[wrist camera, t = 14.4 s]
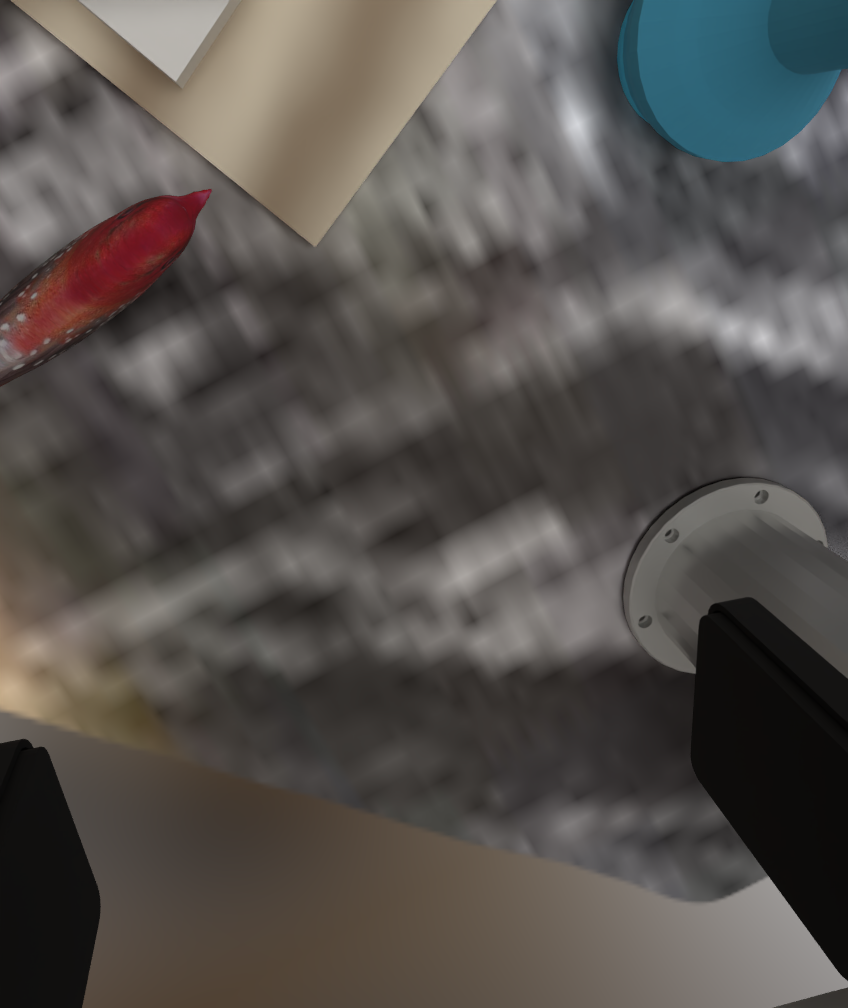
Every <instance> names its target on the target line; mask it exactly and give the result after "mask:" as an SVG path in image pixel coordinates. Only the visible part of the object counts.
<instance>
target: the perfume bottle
mask: <svg viewBox="0 0 848 1008" xmlns="http://www.w3.org/2000/svg"><path fill="white" fill-rule="evenodd" d="M617 64H618V72H619V78H620V81H621V85H622V88H623V92H624V93H625V95H626V97H627V99H628V101H629V103H630V105H631V106H632V107H633V109H634V110H635V111H636V112H637V114H638V115H639V116H640V117H642V118H643V119H644V120H645V121H647V122H648V123H649V124H650V125H651V126H652V127H653V128H654V130H655V131H656V132H657V133H658V134H660V135H661V136H662V137H663V138H664V139H666V140H667V141H668V142H670V143H671V144H672V145H673V146H675V147H676V148H677V149H679V150H682V151H684V152H686V153H688V154H690V155H693V156H695V157H700V158H705V159H710V160H716V161H721V162H733V161H745V160H749V159H752V158H756V157H759V156H763V155H765V154H767V153H769V152H771V151H773V150H775V149H777V148H779V147H780V146H782V145H784V144H785V143H786V142H788V141H789V140H790V139H791V138H793V137H794V136H795V135H797V134H798V133H799V132H800V131H801V130H802V129H803V128H804V127H805V126H806V125H807V124H808V123H809V122H810V121H811V119H812V118H813V117H814V116H815V115H816V114H817V113H818V111H819V110H820V108H821V107H822V105H823V104H824V102H825V101H826V99H827V98H828V96H829V95H830V93H831V91H832V89H833V87H834V85H835V83H836V80H837V78H838V76H839V74H840V72H841V70H842V69H847V68H848V0H633V2H632V3H631V5H630V7H629V9H628V10H627V13H626V16H625V18H624V21H623V23H622V26H621V31H620V36H619V40H618V52H617Z"/></svg>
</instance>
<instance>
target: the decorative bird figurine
mask: <svg viewBox="0 0 848 1008" xmlns="http://www.w3.org/2000/svg"><path fill="white" fill-rule="evenodd" d="M211 191H212V189H208V190H202V191H199V192H193V193H191V194H188V195H185V196H171V195H165V196H158V197H154V198H150V199H147V200H144V201H141V202H139V203H136V204H134V205H132V206H130V207H128V208H127V209H125V210H123V211H122V212H120V213H118V214H117V215H115V216H113V217H111V218H109V219H107V220H105V221H103V222H101V223H100V224H98V225H96V226H95V227H93V228H91V229H90V230H88V231H87V232H85V233H84V234H82V235H81V236H79V237H78V238H76V239H75V240H73V241H72V242H70V243H69V244H68V245H66V246H65V247H64V248H62V249H61V250H60V251H58V252H57V253H55V254H54V255H53V256H52V257H50V258H49V259H48V260H47V261H45V262H44V263H43V264H41V265H40V266H39V267H38V268H36V269H35V270H34V271H33V272H32V273H30V274H29V275H28V276H27V277H25V278H24V279H23V280H22V281H21V282H20V283H19V284H17V285H16V286H15V287H14V288H13V289H12V290H11V291H10V292H9V293H8V294H7V295H6V296H5V297H3V298H2V299H1V300H0V386H2V385H4V384H6V383H8V382H10V381H12V380H13V379H15V378H17V377H19V376H21V375H23V374H25V373H27V372H29V371H31V370H33V369H35V368H37V367H39V366H41V365H43V364H44V363H46V362H48V361H50V360H51V359H53V358H55V357H56V356H58V355H60V354H61V353H63V352H65V351H66V350H68V349H69V348H71V347H72V346H74V345H76V344H77V343H79V342H80V341H82V340H83V339H84V338H86V337H87V336H89V335H90V334H92V333H93V332H94V331H96V330H97V329H98V328H100V327H101V326H103V325H104V324H105V323H107V322H108V321H109V320H111V319H112V318H113V317H115V316H116V315H117V314H118V313H120V312H121V311H122V310H123V309H125V308H126V307H127V306H128V305H130V304H131V303H132V302H133V301H134V300H136V299H137V298H138V297H139V296H140V295H141V294H142V293H144V292H145V291H146V290H147V289H148V288H149V287H150V286H151V285H152V284H153V283H154V282H155V281H156V280H157V279H158V278H159V277H160V276H161V275H162V273H163V272H164V271H165V270H166V269H167V268H168V267H169V266H170V265H171V264H172V263H173V262H174V261H175V260H176V259H177V258H178V257H179V256H180V254H181V253H182V252H183V250H184V249H185V247H186V246H187V244H188V242H189V240H190V239H191V237H192V235H193V232H194V229H195V223H196V218H197V216H198V214H199V212H200V211H201V209H202V208H203V207H204V205H205V203H206V201H207V199H208V198H209V196H210V193H211Z"/></svg>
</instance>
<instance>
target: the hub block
mask: <svg viewBox="0 0 848 1008" xmlns="http://www.w3.org/2000/svg"><path fill="white" fill-rule="evenodd" d="M77 1H78V2H79V3H80V4H81V5H83V6H84V7H85V8H86V9H87V10H89V11H90V12H91V13H92V14H93V15H95V16H96V17H97V18H98V19H99V20H101V21H102V22H103V23H104V24H105V25H107V26H108V27H109V28H110V29H111V30H112V31H114V32H115V33H116V34H117V35H118V36H120V37H121V38H122V39H123V40H124V41H126V42H127V43H128V44H129V45H130V46H132V47H133V48H134V49H135V50H136V51H137V52H139V53H140V54H141V55H142V56H143V57H145V58H146V59H147V60H148V61H149V62H151V63H152V64H153V65H154V66H155V67H157V68H158V69H159V70H160V71H161V72H163V73H164V74H165V75H166V76H167V77H168V78H170V79H171V80H172V81H173V82H174V83H176V84H177V85H178V86H179V87H180V88H182V89H183V87H184V86H185V84H186V83H187V81H188V80H189V78H190V77H191V75H192V74H193V72H194V71H195V69H196V68H197V66H198V65H199V63H200V62H201V60H202V59H203V57H204V56H205V54H206V53H207V51H208V50H209V48H210V47H211V45H212V44H213V42H214V41H215V39H216V38H217V36H218V35H219V33H220V32H221V30H222V29H223V27H224V26H225V24H226V23H227V21H228V20H229V18H230V17H231V15H232V14H233V12H234V11H235V9H236V8H237V6H238V5H239V3H240V2H241V0H77Z"/></svg>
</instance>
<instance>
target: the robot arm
mask: <svg viewBox="0 0 848 1008" xmlns="http://www.w3.org/2000/svg"><path fill="white" fill-rule="evenodd" d="M623 602H624V611H625V617H626V619H627V622H628V625H629V628H630V630H631V632H632V633H633V635H634V636H635V638H636V639H637V641H638V642H639V644H640V645H641V646H642V647H643V648H644V649H645V650H646V652H647V653H648V654H649V655H650V656H651V657H652V658H654V659H655V660H657V661H658V662H659V663H661V664H662V665H664V666H667V667H669V668H672V669H674V670H677V671H680V672H686V673H692V674H696V676H695V692H694V707H693V723H692V739H691V762H692V766H693V769H694V772H695V774H696V776H697V778H698V780H699V781H700V783H701V784H702V785H703V787H704V788H705V790H706V791H707V792H708V794H709V795H710V796H711V798H712V799H713V800H714V802H715V803H716V805H717V806H718V807H719V809H720V810H721V811H722V813H723V814H724V816H725V817H726V818H727V820H728V821H729V822H730V824H731V825H732V827H733V828H734V829H735V831H736V832H737V833H738V835H739V836H740V838H741V839H742V840H743V842H744V843H745V844H746V846H747V847H748V849H749V850H750V851H751V853H752V854H753V855H754V857H755V858H756V860H757V861H758V862H759V864H760V865H761V866H762V868H763V869H764V870H765V872H766V873H767V875H768V876H769V877H770V879H771V880H772V881H773V883H774V884H775V886H776V887H777V888H778V890H779V891H780V892H781V894H782V895H783V896H784V898H785V899H786V901H787V902H788V903H789V905H790V906H791V908H792V909H793V910H794V912H795V913H796V914H797V916H798V917H799V919H800V920H801V921H802V923H803V924H804V925H805V927H806V928H807V930H808V931H809V932H810V934H811V935H812V936H813V938H814V939H815V940H816V942H817V943H818V945H819V946H820V947H821V949H822V950H823V951H824V953H825V954H826V956H827V957H828V958H829V960H830V961H831V962H832V964H833V965H834V967H835V968H836V969H837V971H838V972H839V973H840V974H841V975H842V976H843V977H844V978H845V979H846V980H847V981H848V561H846V560H845V559H843V558H842V557H840V556H839V555H837V554H836V553H834V552H833V551H831V550H830V549H828V542H827V537H826V532H825V528H824V526H823V524H822V521H821V519H820V517H819V515H818V513H817V512H816V511H815V510H814V509H813V507H812V506H811V505H810V504H809V502H808V501H806V500H805V499H803V498H802V497H801V496H799V495H798V494H797V493H795V492H794V491H792V490H790V489H788V488H786V487H784V486H782V485H781V484H779V483H776V482H772V481H768V480H764V479H759V478H737V479H731V480H724V481H720V482H717V483H714V484H711V485H709V486H706V487H703V488H701V489H699V490H697V491H695V492H693V493H691V494H690V495H688V496H686V497H684V498H683V499H681V500H680V501H679V502H677V503H676V504H675V505H673V506H672V507H671V508H669V509H668V510H667V511H666V512H665V513H664V514H663V515H662V516H661V517H660V518H659V519H658V520H657V521H656V522H655V523H654V524H653V525H652V526H651V527H650V529H649V530H648V532H647V533H646V534H645V536H644V537H643V539H642V540H641V541H640V543H639V545H638V547H637V549H636V551H635V553H634V555H633V557H632V559H631V561H630V564H629V567H628V571H627V574H626V578H625V583H624V593H623ZM100 907H101V906H100V895H99V890H98V886H97V884H96V881H95V878H94V875H93V873H92V870H91V867H90V865H89V862H88V859H87V857H86V854H85V851H84V848H83V846H82V843H81V840H80V837H79V835H78V832H77V829H76V827H75V824H74V821H73V818H72V816H71V813H70V810H69V808H68V805H67V802H66V799H65V797H64V794H63V791H62V789H61V786H60V783H59V781H58V778H57V775H56V772H55V769H54V767H53V764H52V761H51V759H50V756H49V754H48V752H47V750H46V749H45V748H44V747H38V748H33V746H32V744H31V743H30V742H29V741H28V740H26V739H21V740H15V741H10V742H5V743H0V1008H82V1005H83V1000H84V995H85V990H86V985H87V980H88V974H89V970H90V965H91V960H92V954H93V950H94V944H95V940H96V934H97V930H98V924H99V919H100ZM774 1008H848V988H845V989H840V990H837V991H833V992H829V993H825V994H822V995H818V996H814V997H810V998H807V999H803V1000H800V1001H796V1002H792V1003H789V1004H785V1005H781V1006H778V1007H774Z"/></svg>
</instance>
